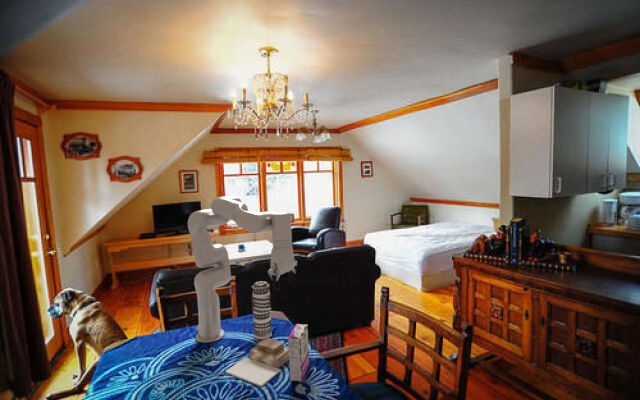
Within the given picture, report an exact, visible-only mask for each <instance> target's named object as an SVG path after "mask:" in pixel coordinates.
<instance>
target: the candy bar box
mask: <svg viewBox="0 0 640 400" xmlns="http://www.w3.org/2000/svg"><path fill="white" fill-rule="evenodd" d="M287 342H288V343H287V344H288V348H287V349H289V360H288V363H289V381H292V382H300V383H301V382H303V381H304V380H305V379H304V378H305V377H306V374H307V371H308V370H309V367H310V349H309V329H308V324H305V323H304V324H303V323H296V324H295V325H294V327H293V329H292V330H291V332H290V334H289V335H288V337H287Z"/></svg>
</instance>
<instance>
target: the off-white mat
mask: <svg viewBox="0 0 640 400" xmlns="http://www.w3.org/2000/svg"><path fill="white" fill-rule="evenodd" d="M281 371H282V370H281V369H280V368H275V367H272V366H269V365H266V364H263V363H261V362H258V361H255V360H252V359H250V357H249V358H248V357H244V358H243V359H241V360H239V362H237V363H235V364H234V365H232V366H231V367H229V368H228V369H226V370H225V374H228V375H230V376H233V377H235V378H238V379H240V380H242V381H245V382H248V383H250V384H253V385H256V386H258V387H259V388H260V387H264V385H266V384H267V383H268V382H269V381H271V380H272V379H273V378H274V377H276V375H279V373H280V372H281Z"/></svg>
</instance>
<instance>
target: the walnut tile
mask: <svg viewBox="0 0 640 400" xmlns="http://www.w3.org/2000/svg"><path fill="white" fill-rule="evenodd" d="M256 346H257V350H259V351H262V352H266V353H269V354H272V355H276V354H277V353H279V352H280V351H281V350H283V349H284V348H285V342H284V341H280V340H277V339H273V338H270V337H269V338H265V339H261V341H260V342H258V343H256Z"/></svg>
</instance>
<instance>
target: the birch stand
mask: <svg viewBox="0 0 640 400" xmlns="http://www.w3.org/2000/svg"><path fill="white" fill-rule="evenodd" d="M249 354H250V355H249V359H252V360H255V361H258V362H261V363H263V364H266V365H269V366H272V367H275V368H278V369H280V368H281V367H283V365H284V364H286V363H287V362H289V348H286V347H284V349H283V350H281V351H280V352H279V353H277V354H276V355H272V354H269V353H266V352H262V351H259V350H257V345H256V346H254V347H252V348H251V349H249Z"/></svg>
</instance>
